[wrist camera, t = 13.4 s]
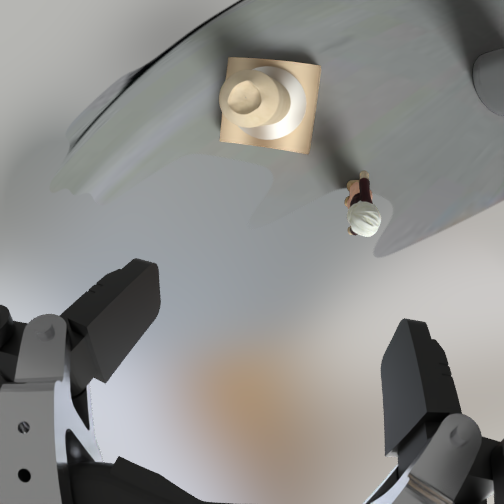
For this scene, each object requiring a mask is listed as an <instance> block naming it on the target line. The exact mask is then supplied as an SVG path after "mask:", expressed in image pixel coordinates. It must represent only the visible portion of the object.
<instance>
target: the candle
mask: <svg viewBox="0 0 504 504" xmlns="http://www.w3.org/2000/svg"><path fill="white" fill-rule="evenodd" d="M219 104H220V108H221V111H222V113H223V114H224V116H225V117H226V118H227V119H228V120H229V121H230V122H232V123H233V124H235V125H237V126H240V127H245V128H252V127H258V126H265V125H271V124H275V123H277V122H279V121H281V120H282V119H283V118H284V117H285V116H286V115H287V114H288V112H289V109H290V105H291V99H290V95H289V92H288V91H287V89H286V88H285V87H284V86H283V85H282V84H281V83H279V82H278V81H276V80H275V79H273V78H271V77H270V76H268V75H266V74H265V73H263V72H261V71H257V70H250V69H248V70H242V71H239V72H236V73H234V74H233V75H231V76H230V77H229V78H228V79H227V80H226V81H225V82H224V84H223V85H222V87H221V90H220V94H219Z"/></svg>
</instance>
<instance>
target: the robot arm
mask: <svg viewBox="0 0 504 504" xmlns="http://www.w3.org/2000/svg"><path fill="white" fill-rule="evenodd" d="M473 81H474V86H475V89H476V92H477V94H478V96H479V98H480V99H481V101H482V102H483V103H484V105H485V106H486V107H487V108H488V109H489V110H491V111H492V112H493V113H496V114H498V115H501V116H504V48H502V49H498V50H495V51H491V52H488V53H485V54H482V55H481V56H479V57H478V59H477V60H476V62H475V64H474V67H473ZM160 303H161V300H160V287H159V270H158V266H157V264H155V263H152V262H149V261H145V260H141V259H137V258H136V259H133V260H132V261H131V262H129V263H128V264H127V265H126V266H125V267H124V268H122V269H118V270H116V271H114V272H111V273H109V274H107V275H105V276H104V277H103V278H102V279H101V280H99V281H98V282H97V284H96V285H94V286H92V287H91V288H90V289H89V291H88V292H86V293H85V294H83V295H82V296H81V297H80V298H79V299H78V300H76V301H75V302H74V303H73V304H72V305H71V306H70V307H69V308H68V309H66V310H65V311H64V312H63V313H62V314H61V315H60V316H58V315H55V314H45V315H41V316H38V317H36V318H34V319H33V320H31V321H30V322H29V323H28V324H27V323H22V322H16V321H13V320H12V317H11V315H10V313H9V310H8V309H7V307H5V306H2V305H0V504H229V503H212V502H204V501H201V500H199V499H197V498H195V497H194V496H192V495H190V494H189V493H187V492H185V491H184V490H182V489H181V488H179V487H178V486H176V485H175V484H173V483H171V482H170V481H169V480H167V479H165V478H164V477H163V476H161V475H160V474H158V473H155V472H153V471H150V470H148V469H145V468H143V467H141V466H139V465H137V464H134V463H132V462H130V461H128V460H126V459H124V458H122V457H120V456H119V457H118V458H117V460H116V462H115V463H114V464H112V463H105V462H103V458H102V455H101V452H100V449H99V446H98V444H97V441H96V437H95V431H94V423H93V414H92V403H91V390H90V385H89V382H90V381H91V380H92V379H93V377H94V378H96V379H98V380H100V381H102V382H104V383H106V382H107V381H108V380H109V378H110V377H111V376H112V374H113V373H114V372H115V370H116V369H117V368H118V366H119V365H120V364H121V362H122V361H123V360H124V359H125V357H126V356H127V354H128V353H129V352H130V351H131V349H132V348H133V347H134V346H135V344H136V343H137V342H138V340H139V339H140V338H141V336H142V335H143V334H144V332H145V331H146V330H147V329H148V328H149V326H150V325H151V324H152V322H153V321H154V320H155V319H156V317H157V315H158V313H159V309H160ZM381 379H382V392H383V408H384V430H385V456H387V457H398V465H397V466H395V467H394V469H393V470H392V471H391V472H390V473H389V475H388V476H387V477H386V478H385V479H384V480H383V482H382V483H381V484H380V485H379V486H378V487H377V488H376V490H375V491H374V492H373V493H372V494H371V495H370V496H369V497H368V498H367V500H365V501H364V503H363V504H487V498H488V497H490V496H491V495H493V494H494V502H495V503H494V504H504V439H503V440H502V441H501V442H498V441H495V440H492V439H488V438H485V437H482V436H481V432H480V429H479V427H478V425H477V424H476V423H475V422H474V420H472V419H471V418H470V417H468V416H466V415H463V414H462V412H461V408H460V404H459V400H458V396H457V392H456V388H455V385H454V381H453V378H452V377H451V371H450V367H449V366H448V361H447V358H446V355H445V352H444V350H443V349H442V347H441V346H440V345H439V343H438V342H437V341H436V340H434V339H431V336H430V333H429V330H428V327H427V324H426V323H425V322H422V321H416V320H410V319H405V318H404V319H403V320H401V322H400V323H399V325H398V327H397V330H396V332H395V334H394V336H393V338H392V340H391V342H390V344H389V346H388V348H387V350H386V352H385V354H384V356H383V360H382V364H381Z"/></svg>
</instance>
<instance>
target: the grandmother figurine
mask: <svg viewBox="0 0 504 504" xmlns="http://www.w3.org/2000/svg"><path fill="white" fill-rule="evenodd" d="M368 177H369V174H368V172H367V171H362V172H361V173H360V180H350V181H349V182H348V183H347V189H348V191H350V196H348V197H347V198H346V199H345V205H346V206H347V207H348V209H349V210H348V214H347V220H348V222H349V224H350V225H351V226H350V227H349V228H348V233H349V234H351V235H357V234H359V235H362V236H366V237H369V236H372V235H374V234H375V233H376V231H377V230H378V227H379V225H380V223H381V215H380V213H379V211H378V209H377V207H376V206H375V205H373V203H372V192H371V190H370V188H369V185H370V182H369V178H368Z"/></svg>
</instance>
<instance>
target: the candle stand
mask: <svg viewBox="0 0 504 504" xmlns="http://www.w3.org/2000/svg"><path fill="white" fill-rule="evenodd" d="M248 69H250V70H257V71H261V72H263V73H265V74H266V75H268V76H270V77H271V78H273V79H275V80H276V81H278V82H279V83H281V84H282V85H283V86H284V87H285V88H286V89H287V91H288V92H289V95H290V99H291V105H290V109H289V112H288V114H287V115H286V116H285V117H284V118H283V119H282V120H281V121H279V122H277V123H275V124H271V125H265V126H258V127H252V128H245V127H240V126H237V125H235V124H233V123H232V122H230V121H229V120H228V119H227V118H226V117H225V116H224V114H223V113H222V121H221V132H220V141H221V142H230V143H238V144H246V145H253V146H260V147H267V148H274V149H280V150H286V151H292V152H298V153H304V154H309V152H310V146H311V140H312V133H313V126H314V119H315V112H316V105H317V98H318V90H319V83H320V75H321V66H319V65H312V64H305V63H298V62H290V61H281V60H270V59H257V58H239V57H228V65H227V74H226V80H227V79H228V78H229V77H230V76H231V75H233V74H234V73H236V72H239V71H242V70H248Z"/></svg>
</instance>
